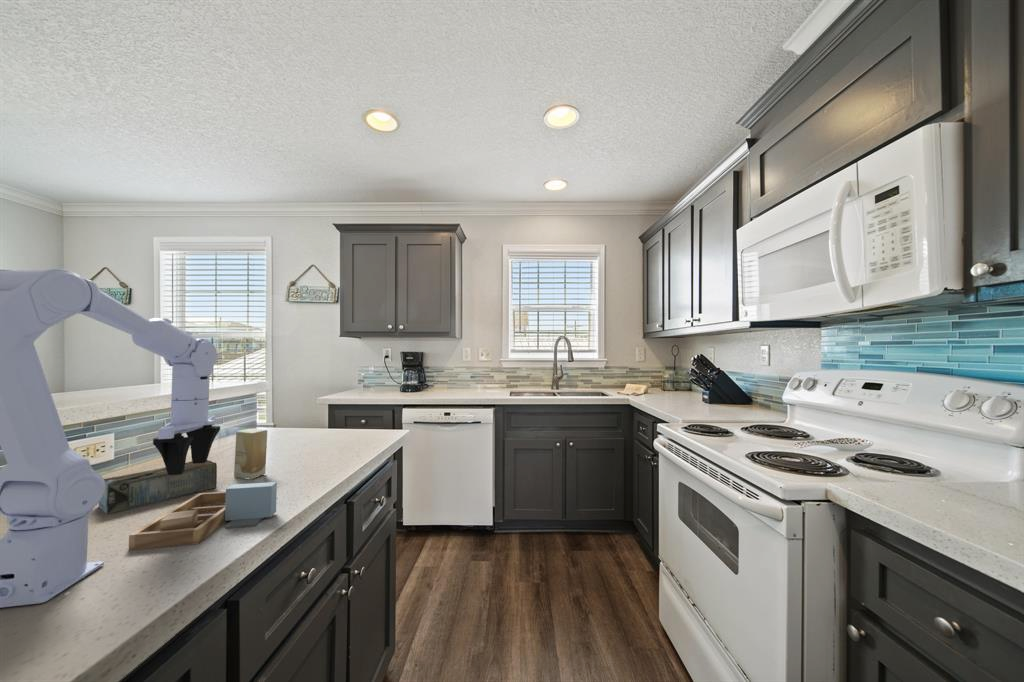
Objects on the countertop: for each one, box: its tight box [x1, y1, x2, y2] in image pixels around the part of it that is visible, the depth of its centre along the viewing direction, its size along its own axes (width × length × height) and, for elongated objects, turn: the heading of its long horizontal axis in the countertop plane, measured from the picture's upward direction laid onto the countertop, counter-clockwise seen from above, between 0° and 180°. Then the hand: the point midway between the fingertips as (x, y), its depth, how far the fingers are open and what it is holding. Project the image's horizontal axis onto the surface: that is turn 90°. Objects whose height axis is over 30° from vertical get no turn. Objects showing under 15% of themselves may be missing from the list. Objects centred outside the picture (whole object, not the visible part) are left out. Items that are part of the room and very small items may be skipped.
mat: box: [224, 518, 264, 529], centre depth 75 cm, size 8×5×1 cm, turn 12°
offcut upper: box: [160, 509, 199, 531], centre depth 67 cm, size 3×4×2 cm
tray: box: [128, 491, 228, 551], centre depth 73 cm, size 20×10×2 cm, turn 12°
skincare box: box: [233, 428, 268, 480], centre depth 101 cm, size 6×4×12 cm
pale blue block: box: [224, 481, 278, 522], centre depth 75 cm, size 2×8×6 cm, turn 102°
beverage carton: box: [98, 459, 218, 515], centre depth 86 cm, size 8×19×7 cm, turn 146°
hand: (188, 468), depth 74 cm, fingers open, 7 cm apart
